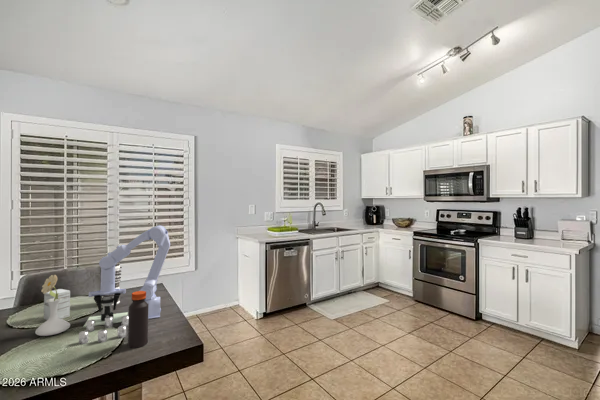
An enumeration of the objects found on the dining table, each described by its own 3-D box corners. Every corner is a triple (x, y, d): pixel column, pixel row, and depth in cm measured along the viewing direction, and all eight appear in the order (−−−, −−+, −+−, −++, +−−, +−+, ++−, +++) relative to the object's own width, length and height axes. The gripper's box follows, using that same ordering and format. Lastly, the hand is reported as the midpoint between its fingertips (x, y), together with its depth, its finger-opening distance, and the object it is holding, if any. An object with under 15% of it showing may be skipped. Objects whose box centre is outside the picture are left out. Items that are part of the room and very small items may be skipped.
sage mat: (128, 312, 147) (128, 312, 147) (125, 321, 136) (125, 320, 136) (89, 317, 140) (89, 316, 140) (83, 327, 129) (83, 326, 129)
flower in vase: (35, 331, 125) (37, 272, 125) (69, 324, 132) (71, 269, 132) (34, 342, 115) (35, 278, 115) (71, 334, 122) (72, 274, 123)
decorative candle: (104, 301, 164) (105, 256, 164) (122, 299, 167) (123, 255, 167) (98, 306, 155) (99, 259, 156) (118, 305, 158) (119, 258, 158)
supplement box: (42, 319, 138) (43, 292, 138) (60, 314, 145) (61, 288, 145) (52, 322, 135) (53, 294, 135) (70, 316, 142) (70, 290, 142)
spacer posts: (129, 322, 135) (130, 313, 135) (125, 338, 119) (125, 328, 119) (87, 328, 128) (87, 319, 129) (76, 346, 112) (77, 336, 112)
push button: (97, 322, 132) (97, 299, 134) (96, 320, 136) (96, 298, 138) (114, 319, 136) (114, 296, 138) (113, 317, 141) (113, 295, 142)
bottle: (143, 338, 119) (144, 289, 120) (150, 343, 115) (151, 292, 116) (125, 344, 114) (126, 292, 115) (132, 350, 110) (133, 296, 110)
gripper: (87, 285, 132) (86, 315, 132) (124, 281, 138) (124, 310, 138) (90, 281, 138) (90, 310, 138) (126, 278, 144) (125, 306, 144)
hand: (107, 310), depth 138 cm, fingers closed on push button, 5 cm apart
